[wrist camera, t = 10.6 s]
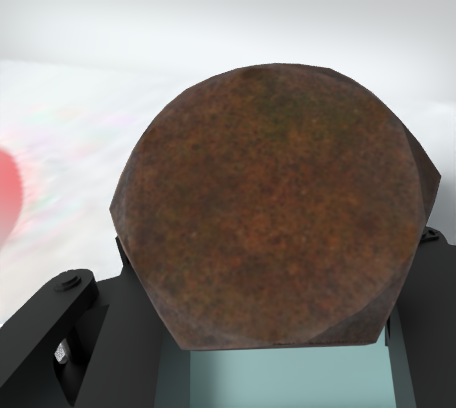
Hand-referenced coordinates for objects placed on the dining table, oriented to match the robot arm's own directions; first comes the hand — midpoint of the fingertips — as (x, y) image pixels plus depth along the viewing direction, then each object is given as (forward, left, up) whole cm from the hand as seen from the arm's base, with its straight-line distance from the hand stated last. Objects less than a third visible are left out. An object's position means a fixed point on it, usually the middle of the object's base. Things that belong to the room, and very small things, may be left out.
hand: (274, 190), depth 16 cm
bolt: (0, +4, -6) cm, 7 cm away
